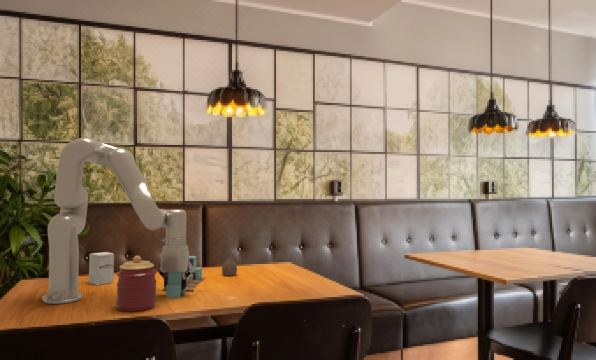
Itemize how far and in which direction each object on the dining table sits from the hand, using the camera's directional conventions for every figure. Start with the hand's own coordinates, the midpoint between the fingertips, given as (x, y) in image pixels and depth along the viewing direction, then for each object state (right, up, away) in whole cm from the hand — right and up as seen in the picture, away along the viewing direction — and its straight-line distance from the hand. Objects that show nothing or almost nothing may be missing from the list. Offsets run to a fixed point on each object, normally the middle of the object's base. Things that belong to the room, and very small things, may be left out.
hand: (175, 288), depth 168 cm
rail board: (0, -3, +17) cm, 17 cm away
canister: (-9, -2, -17) cm, 19 cm away
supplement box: (-37, -3, +20) cm, 42 cm away
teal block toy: (0, -3, 0) cm, 3 cm away
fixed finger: (0, -2, +25) cm, 25 cm away
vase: (+16, -3, +33) cm, 37 cm away
